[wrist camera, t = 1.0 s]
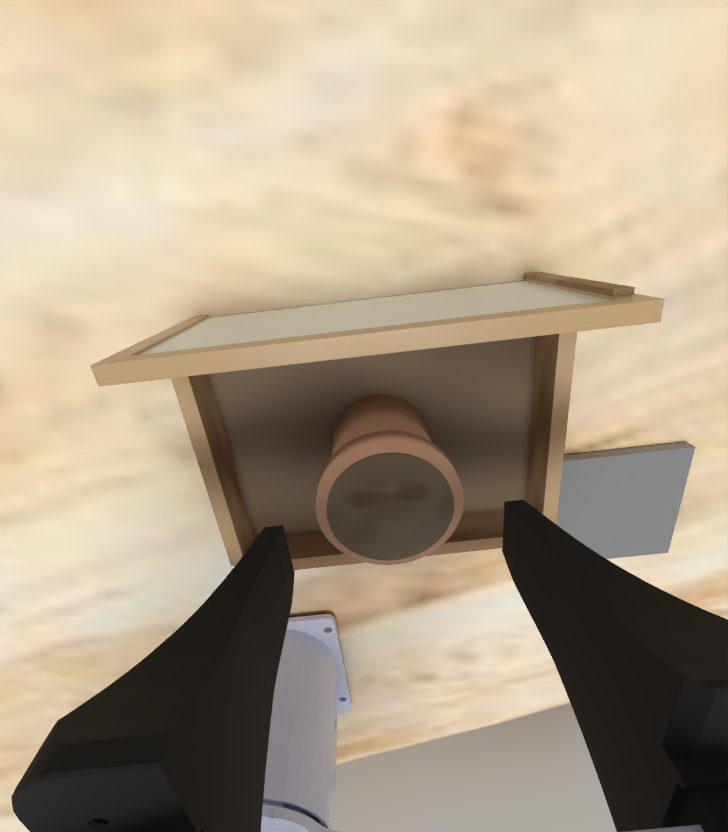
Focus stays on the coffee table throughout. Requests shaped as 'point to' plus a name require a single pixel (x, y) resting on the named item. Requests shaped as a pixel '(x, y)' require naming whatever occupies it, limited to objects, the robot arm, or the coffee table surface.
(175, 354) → the lid
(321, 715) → the robot arm
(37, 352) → the coffee table surface
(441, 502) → the pot
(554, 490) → the cold frame
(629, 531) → the tile
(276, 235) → the coffee table surface
